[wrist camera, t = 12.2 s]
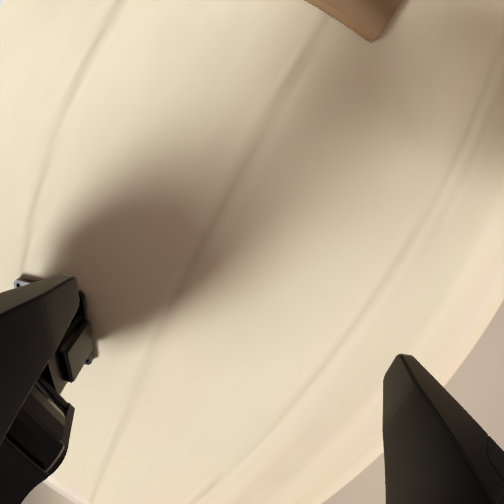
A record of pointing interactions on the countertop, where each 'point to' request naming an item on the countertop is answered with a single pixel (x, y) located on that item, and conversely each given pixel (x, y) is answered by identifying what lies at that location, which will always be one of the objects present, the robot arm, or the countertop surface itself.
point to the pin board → (360, 14)
